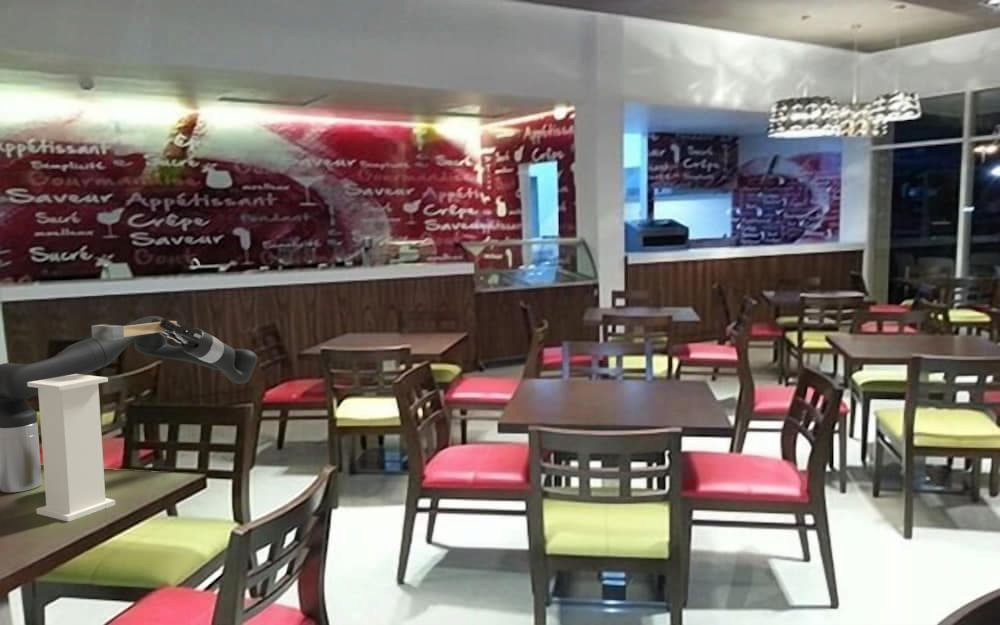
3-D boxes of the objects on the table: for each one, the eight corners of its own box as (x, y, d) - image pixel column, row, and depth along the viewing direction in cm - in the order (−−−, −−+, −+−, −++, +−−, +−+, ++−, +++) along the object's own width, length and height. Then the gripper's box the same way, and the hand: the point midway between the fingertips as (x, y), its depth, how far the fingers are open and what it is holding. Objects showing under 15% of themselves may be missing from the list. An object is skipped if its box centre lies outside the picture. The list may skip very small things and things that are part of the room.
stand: (36, 513, 174) (27, 382, 171) (84, 497, 185) (76, 373, 182) (68, 521, 169) (59, 386, 166) (115, 504, 180) (107, 377, 177)
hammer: (92, 338, 183) (91, 325, 183) (163, 328, 202) (162, 317, 202) (113, 340, 180) (112, 327, 179) (183, 330, 198) (183, 318, 198)
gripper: (191, 333, 214) (144, 308, 200) (225, 335, 208) (180, 310, 194) (181, 356, 211) (134, 333, 197) (216, 359, 205) (169, 336, 191)
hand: (157, 322), depth 196 cm, fingers closed on hammer, 3 cm apart
